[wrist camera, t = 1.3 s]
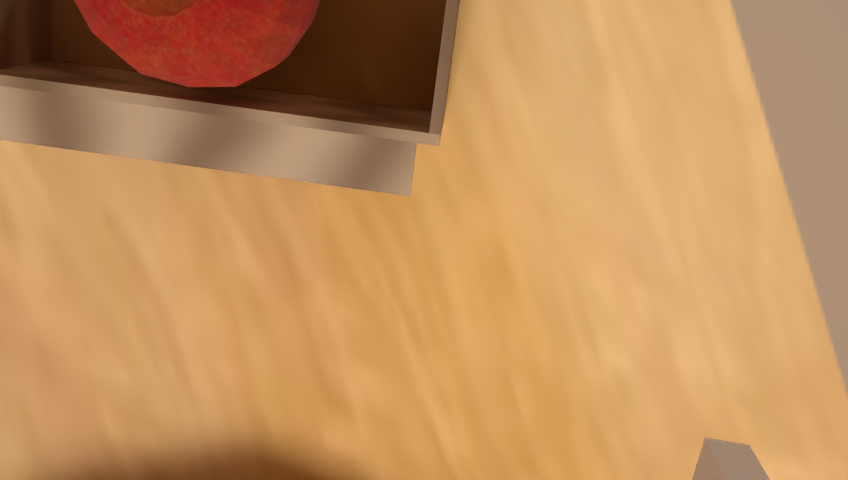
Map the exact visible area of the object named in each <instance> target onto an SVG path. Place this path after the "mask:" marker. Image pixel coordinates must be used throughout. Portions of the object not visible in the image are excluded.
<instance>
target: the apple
mask: <svg viewBox="0 0 848 480" xmlns="http://www.w3.org/2000/svg"><path fill="white" fill-rule="evenodd" d="M74 1H75V3H76V5H77V6H78V8H79V10H80V12H81V14H82V16H83V17H84V19H85V21H86V23H87V25H88V27H89V28H90V30H91V32H92V33H93V34H94V35H95V36H97V37H98V38H99V39H100V40H101V41H102V42H103V43H105V44H106V45H107V46H108V47H109V48H110V49H111V50H113V51H114V52H115V53H116V54H117V55H118V56H119V57H121V58H122V59H123V60H124V61H125V62H126V63H127V64H129V65H130V66H131V67H133V68H134V69H135V70H137V71H138V72H139V73H140V74H143V75H147V76H151V77H154V78H158V79H161V80H165V81H168V82H172V83H176V84H179V85H183V86H186V87H236V86H238V85H240V84H242V83H244V82H246V81H248V80H250V79H252V78H254V77H256V76H258V75H260V74H262V73H264V72H266V71H268V70H270V69H272V68H274V67H276V66H277V65H278V64H280V63H281V62H282V61H283V60H285V59H286V58H287V57H288V56H289V55H290V54H291V53H292V51H293V50H294V48H295V47H296V45H297V44H298V43H299V41H300V40H301V38H302V37H303V36H304V34H305V33H306V31H307V30H308V28H309V27H310V26H311V24H312V23H313V21H314V18H315V15H316V13H317V10H318V7H319V4H320V2H321V0H74Z"/></svg>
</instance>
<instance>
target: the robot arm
mask: <svg viewBox="0 0 848 480" xmlns="http://www.w3.org/2000/svg"><path fill="white" fill-rule="evenodd" d="M692 480H770V479H769V478H768V476H767V474H766V472H765V471H764V469H763V467H762V466H761V464H760V462H759V461H758V459H757V457H756V456H755V454H754V452H753V451H752V449H751V447H750V446H749V445H745V444H739V443H734V442H728V441H722V440H716V439H710V438H705V440H704V443H703V446H702V450H701V453H700V456H699V459H698V463H697V466H696V469H695V472H694V476H693V479H692Z"/></svg>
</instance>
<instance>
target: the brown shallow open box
mask: <svg viewBox="0 0 848 480" xmlns="http://www.w3.org/2000/svg"><path fill="white" fill-rule="evenodd" d="M459 3H460V0H446V7H445V15H444V23H443V30H442V38H441V46H440V53H439V61H438V69H437V76H436V84H435V92H434V99H433V107H432V112H428V111H421V110H414V109H406V108H399V107H392V106H384V105H377V104H369V103H362V102H355V101H347V100H340V99H333V98H325V97H318V96H311V95H303V94H296V93H289V92H281V91H274V90H267V89H259V88H252V87H245V86H236V87H186V86H183V85H179V84H176V83H172V82H168V81H165V80H161V79H158V78H154V77H151V76H147V75H143V74H140V73H139V72H135V71H127V70H120V69H113V68H105V67H98V66H91V65H83V64H76V63H69V62H61V61H54V60H51V42H50V0H0V140H6V141H13V142H20V143H27V144H35V145H42V146H49V147H57V148H64V149H71V150H78V151H86V152H93V153H100V154H107V155H115V156H122V157H129V158H136V159H144V160H151V161H158V162H165V163H173V164H180V165H187V166H194V167H202V168H209V169H216V170H224V171H231V172H238V173H245V174H253V175H260V176H267V177H274V178H282V179H289V180H296V181H303V182H311V183H318V184H325V185H332V186H340V187H347V188H354V189H361V190H369V191H376V192H383V193H390V194H398V195H405V196H410V193H411V185H412V177H413V169H414V161H415V153H416V145H417V143H422V144H430V145H437V146H439V142H440V137H441V132H442V127H443V121H444V114H445V107H446V99H447V92H448V84H449V77H450V70H451V62H452V55H453V48H454V40H455V33H456V25H457V18H458V11H459Z"/></svg>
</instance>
